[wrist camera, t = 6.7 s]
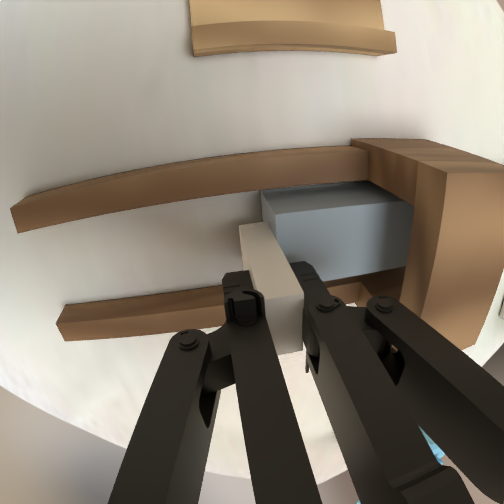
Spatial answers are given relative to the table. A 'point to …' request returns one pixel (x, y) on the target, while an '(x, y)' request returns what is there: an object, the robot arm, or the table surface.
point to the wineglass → (502, 312)
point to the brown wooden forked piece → (306, 173)
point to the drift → (340, 227)
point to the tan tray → (289, 26)
